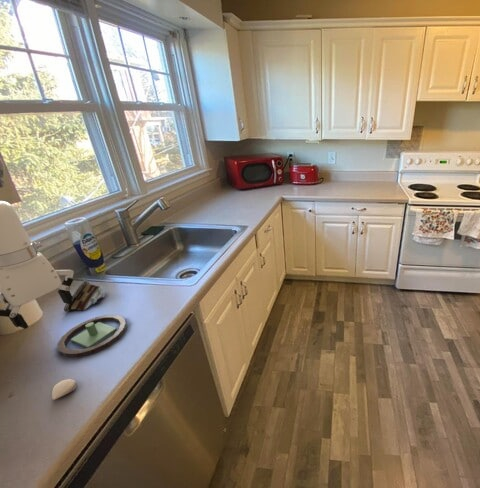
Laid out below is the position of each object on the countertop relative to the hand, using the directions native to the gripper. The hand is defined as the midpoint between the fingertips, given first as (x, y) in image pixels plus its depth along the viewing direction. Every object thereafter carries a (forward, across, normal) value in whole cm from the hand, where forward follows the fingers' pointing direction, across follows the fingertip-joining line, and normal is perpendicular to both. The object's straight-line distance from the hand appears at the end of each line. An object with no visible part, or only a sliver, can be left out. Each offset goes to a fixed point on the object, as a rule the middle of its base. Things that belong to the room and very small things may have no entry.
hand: (47, 314), depth 71 cm
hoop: (+14, -7, 0) cm, 16 cm away
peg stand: (+14, -7, 0) cm, 16 cm away
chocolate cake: (+14, -17, -20) cm, 29 cm away
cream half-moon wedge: (+14, +8, +12) cm, 21 cm away
